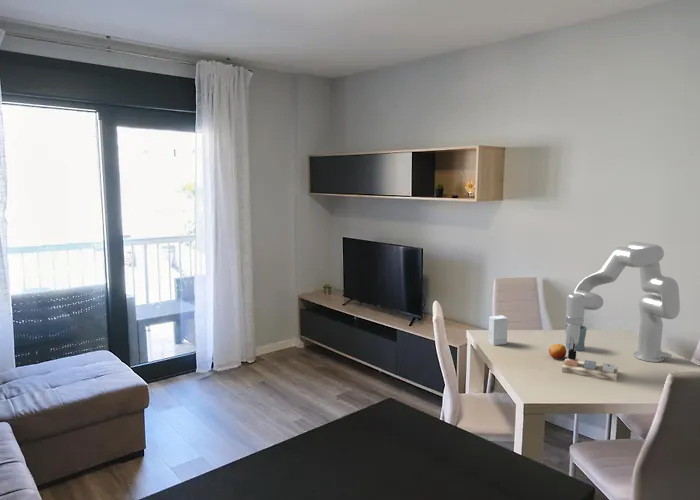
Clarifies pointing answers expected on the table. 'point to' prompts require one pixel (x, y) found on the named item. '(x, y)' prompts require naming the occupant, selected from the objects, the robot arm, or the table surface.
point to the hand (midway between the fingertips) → (571, 358)
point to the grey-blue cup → (580, 338)
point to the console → (590, 371)
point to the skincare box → (498, 330)
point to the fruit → (557, 351)
